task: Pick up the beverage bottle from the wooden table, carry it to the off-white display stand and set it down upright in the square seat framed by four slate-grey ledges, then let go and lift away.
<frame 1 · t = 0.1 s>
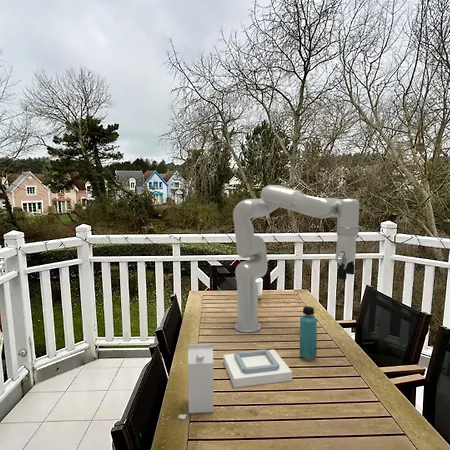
hand: (345, 276, 132), 31 cm above the table, tool pointing down, fingers open, 9 cm apart
beverage bottle: (307, 359, 132), on the table
display stand: (255, 371, 123), on the table
milk carton: (200, 406, 103), on the table
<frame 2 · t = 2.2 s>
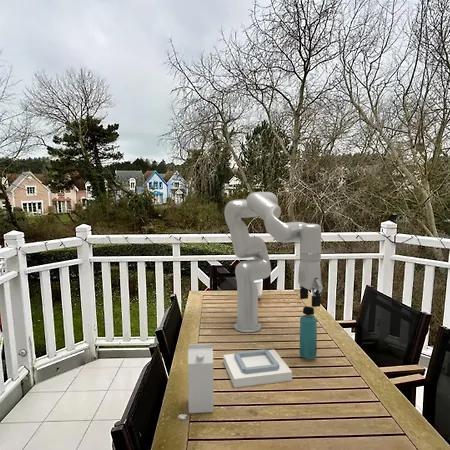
hand: (309, 302, 130), 22 cm above the table, tool pointing down, fingers open, 9 cm apart
nothing on the table moved.
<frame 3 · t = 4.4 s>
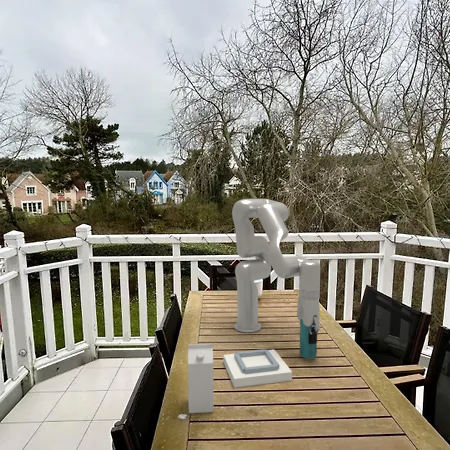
hand: (308, 339, 131), 8 cm above the table, tool pointing down, fingers closed on beverage bottle, 6 cm apart
beverage bottle: (307, 359, 132), on the table, touching gripper
everything else where it was.
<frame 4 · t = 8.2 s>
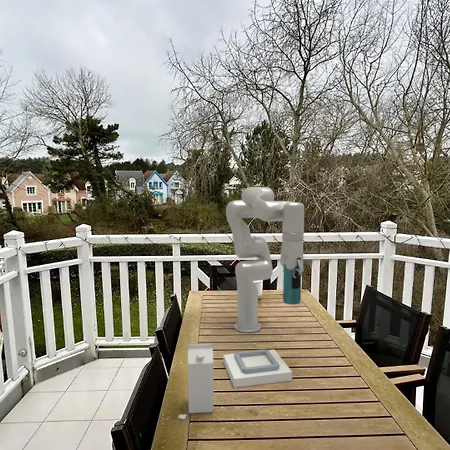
hand: (291, 285, 126), 29 cm above the table, tool pointing down, fingers closed on beverage bottle, 6 cm apart
beverage bottle: (291, 306, 127), point 22 cm above the table, touching gripper
everything else where it was.
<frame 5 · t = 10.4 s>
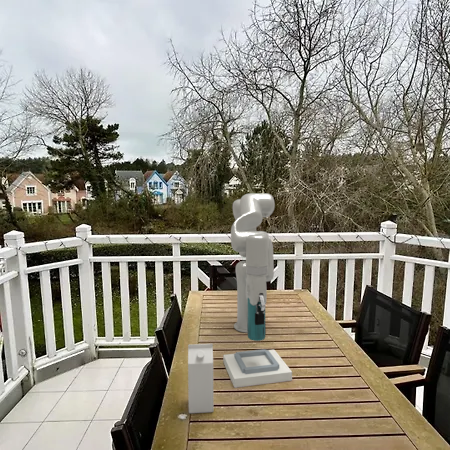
hand: (256, 320, 121), 19 cm above the table, tool pointing down, fingers closed on beverage bottle, 6 cm apart
beverage bottle: (256, 341, 122), point 11 cm above the table, touching gripper
everything else where it was.
when the fingers open (12 cm above the table, at t = 12.4 s): beverage bottle drops 2 cm, resting on display stand.
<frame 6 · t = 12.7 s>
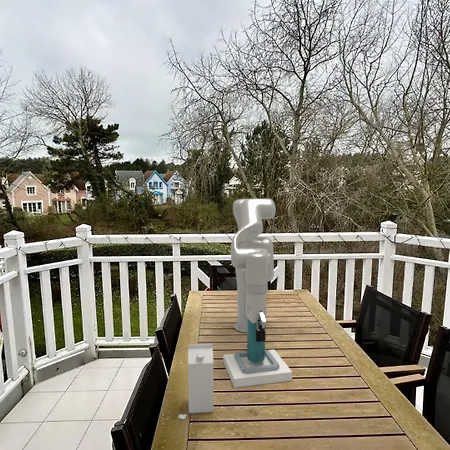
hand: (256, 335, 122), 13 cm above the table, tool pointing down, fingers open, 9 cm apart
beverage bottle: (255, 362, 123), point 3 cm above the table, touching display stand
everything else where it was.
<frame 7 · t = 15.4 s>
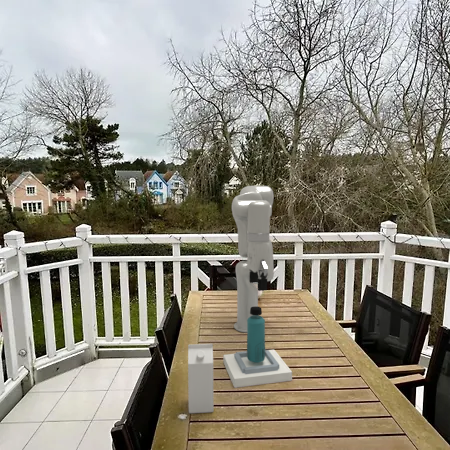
hand: (257, 286, 121), 30 cm above the table, tool pointing down, fingers open, 9 cm apart
nothing on the table moved.
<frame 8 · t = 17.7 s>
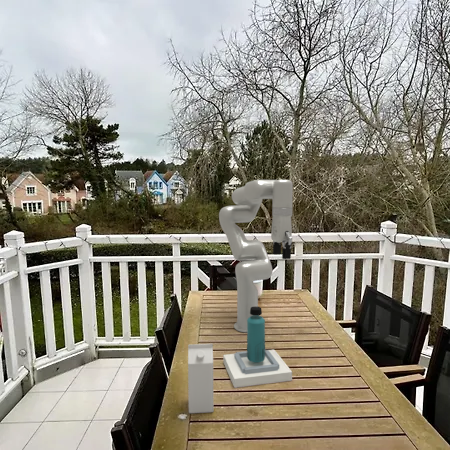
hand: (281, 256, 134), 38 cm above the table, tool pointing down, fingers open, 9 cm apart
nothing on the table moved.
at the end: beverage bottle 0.4 cm off-centre on the display stand, point 2.8 cm above the display stand's base; beverage bottle tilted 0°; the gripper is holding nothing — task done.
